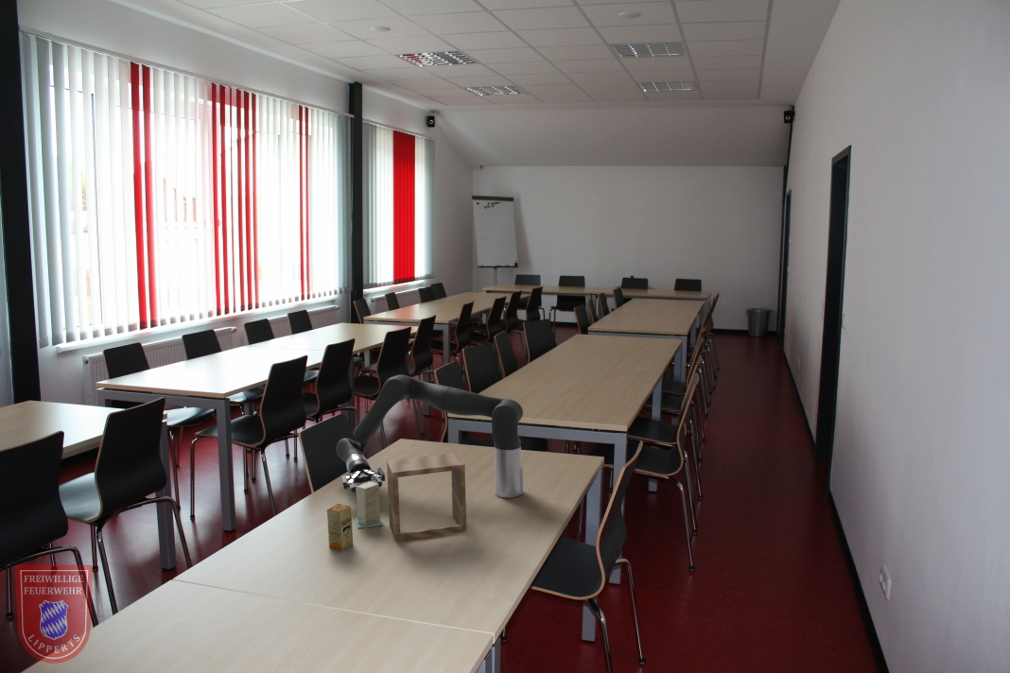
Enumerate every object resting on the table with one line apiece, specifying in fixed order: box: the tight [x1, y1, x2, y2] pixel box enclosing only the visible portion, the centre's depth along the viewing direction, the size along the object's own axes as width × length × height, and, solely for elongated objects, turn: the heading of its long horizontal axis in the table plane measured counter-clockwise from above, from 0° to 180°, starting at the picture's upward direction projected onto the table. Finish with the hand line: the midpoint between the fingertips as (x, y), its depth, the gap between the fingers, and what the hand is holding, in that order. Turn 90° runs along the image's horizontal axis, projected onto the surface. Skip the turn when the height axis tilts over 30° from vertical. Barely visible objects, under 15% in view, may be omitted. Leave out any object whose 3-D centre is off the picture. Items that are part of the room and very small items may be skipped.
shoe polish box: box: [326, 503, 354, 552], centre depth 215 cm, size 5×5×12 cm
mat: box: [354, 516, 384, 530], centre depth 233 cm, size 8×8×1 cm
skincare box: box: [355, 481, 381, 525], centre depth 233 cm, size 6×4×12 cm
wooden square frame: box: [386, 452, 467, 542], centre depth 226 cm, size 22×12×22 cm, turn 107°
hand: (367, 487), depth 242 cm, fingers open, 8 cm apart
